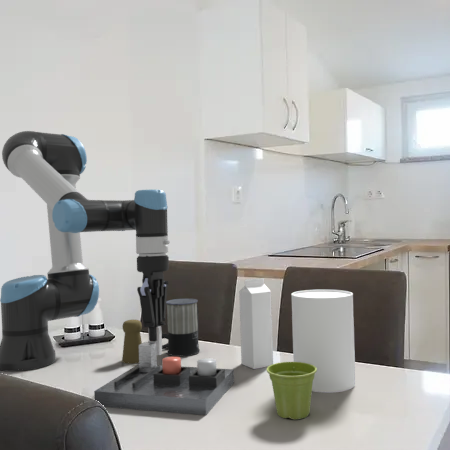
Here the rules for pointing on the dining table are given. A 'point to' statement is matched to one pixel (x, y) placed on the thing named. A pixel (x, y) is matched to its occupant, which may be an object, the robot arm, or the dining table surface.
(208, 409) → the panel
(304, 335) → the canister
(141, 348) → the toggle
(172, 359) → the button
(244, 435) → the dining table surface
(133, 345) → the cork
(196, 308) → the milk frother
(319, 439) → the dining table surface
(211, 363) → the grey button
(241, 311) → the milk
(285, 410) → the plant pot
